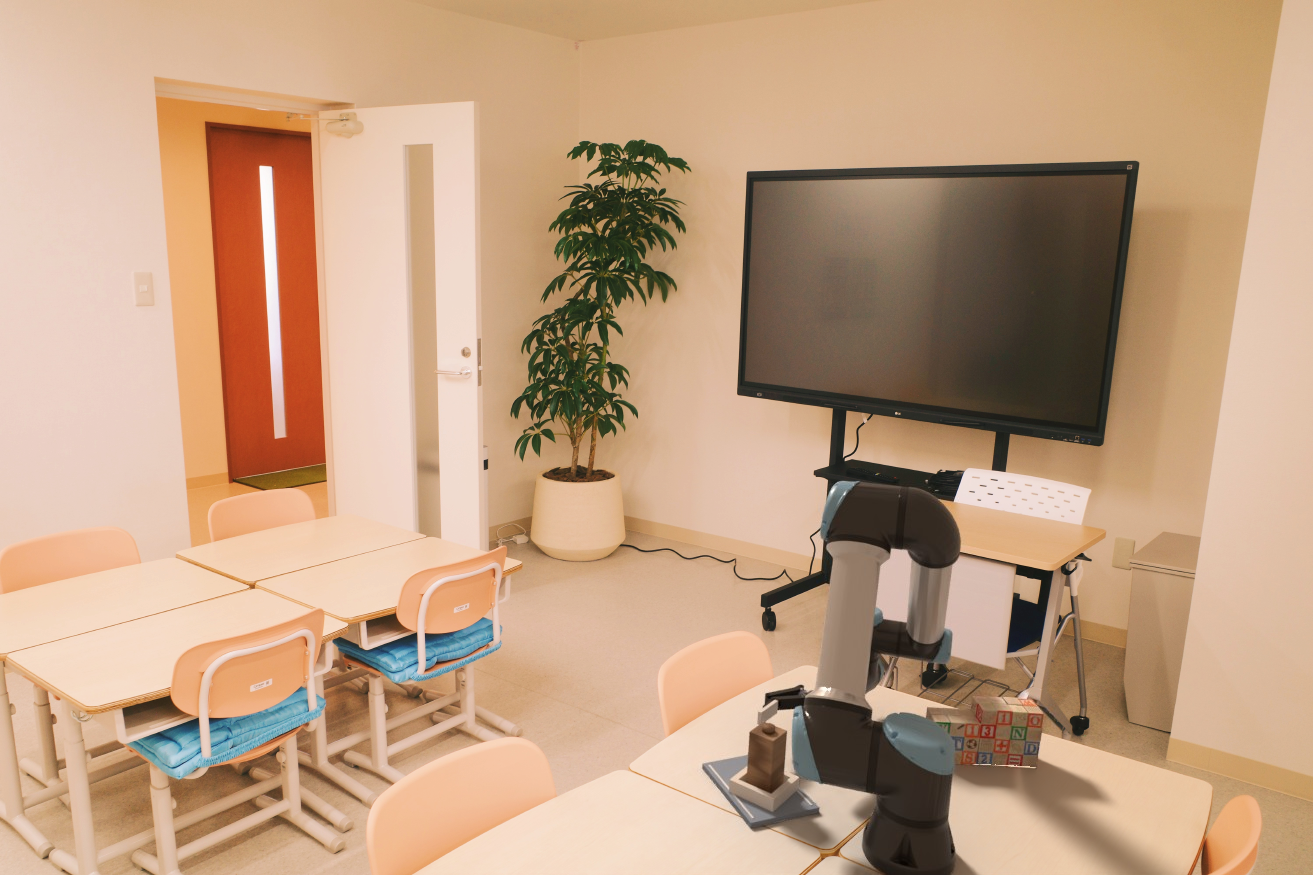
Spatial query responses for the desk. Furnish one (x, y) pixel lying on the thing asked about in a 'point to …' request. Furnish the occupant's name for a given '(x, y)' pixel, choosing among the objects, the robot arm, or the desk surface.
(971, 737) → the stack of blocks
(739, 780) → the socket collar
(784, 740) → the pillar
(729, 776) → the board
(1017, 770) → the desk surface
